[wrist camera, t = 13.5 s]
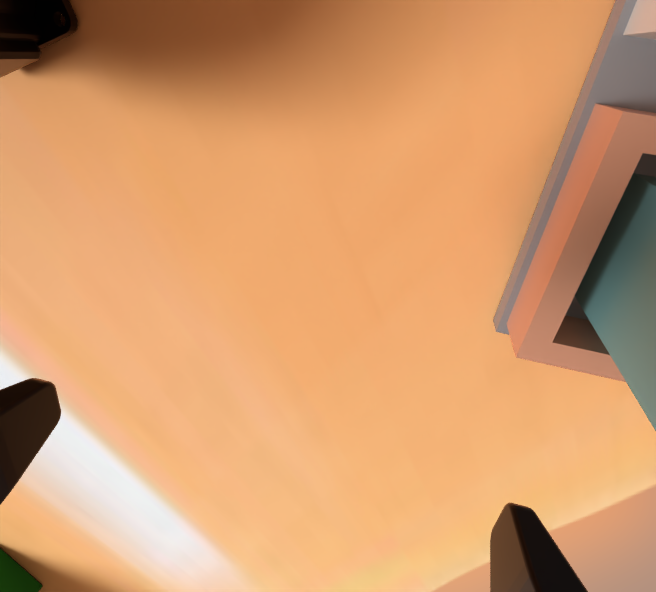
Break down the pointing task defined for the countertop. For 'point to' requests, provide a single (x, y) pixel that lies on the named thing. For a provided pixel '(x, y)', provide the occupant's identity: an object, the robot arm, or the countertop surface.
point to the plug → (627, 290)
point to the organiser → (585, 197)
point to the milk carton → (15, 576)
